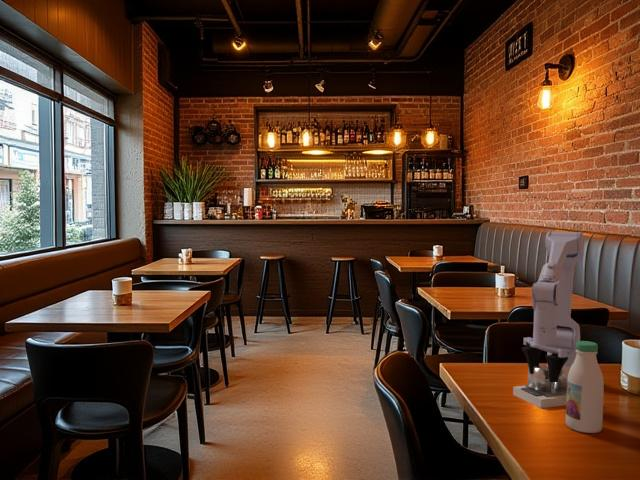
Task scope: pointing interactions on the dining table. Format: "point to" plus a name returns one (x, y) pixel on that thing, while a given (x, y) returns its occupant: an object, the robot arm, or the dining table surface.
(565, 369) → the cylinder
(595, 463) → the dining table surface
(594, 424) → the milk bottle
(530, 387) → the grey metal plate
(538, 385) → the cylinder
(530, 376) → the cylinder
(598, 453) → the dining table surface
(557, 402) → the scale
